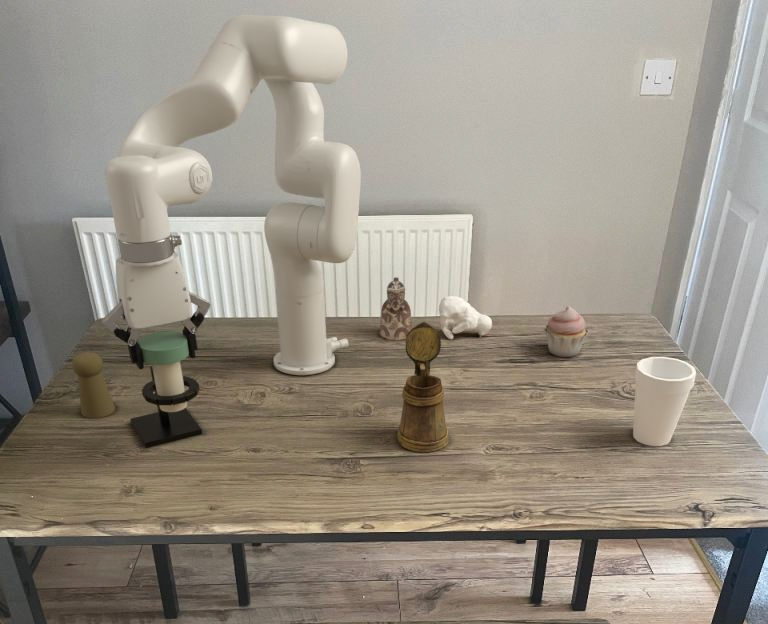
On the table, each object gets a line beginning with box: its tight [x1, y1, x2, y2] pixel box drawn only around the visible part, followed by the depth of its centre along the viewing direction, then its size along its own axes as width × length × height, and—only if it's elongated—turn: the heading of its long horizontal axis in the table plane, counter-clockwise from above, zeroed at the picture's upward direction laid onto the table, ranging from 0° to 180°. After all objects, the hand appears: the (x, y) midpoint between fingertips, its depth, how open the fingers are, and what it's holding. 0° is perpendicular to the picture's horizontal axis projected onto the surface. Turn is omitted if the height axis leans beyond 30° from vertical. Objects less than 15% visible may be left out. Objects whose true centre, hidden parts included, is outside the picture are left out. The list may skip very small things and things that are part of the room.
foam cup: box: [632, 356, 697, 447], centre depth 136 cm, size 10×9×13 cm
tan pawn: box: [71, 351, 116, 419], centre depth 146 cm, size 6×6×11 cm
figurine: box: [378, 276, 413, 341], centre depth 174 cm, size 7×7×12 cm
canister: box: [137, 331, 189, 412], centre depth 128 cm, size 8×8×11 cm
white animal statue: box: [438, 295, 493, 340], centre depth 175 cm, size 6×8×12 cm
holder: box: [129, 365, 203, 449], centre depth 137 cm, size 10×18×12 cm, turn 29°
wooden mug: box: [397, 321, 450, 453], centre depth 136 cm, size 9×14×18 cm, turn 179°
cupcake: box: [542, 305, 590, 358], centre depth 167 cm, size 9×9×10 cm
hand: (165, 360), depth 127 cm, fingers closed on canister, 7 cm apart
